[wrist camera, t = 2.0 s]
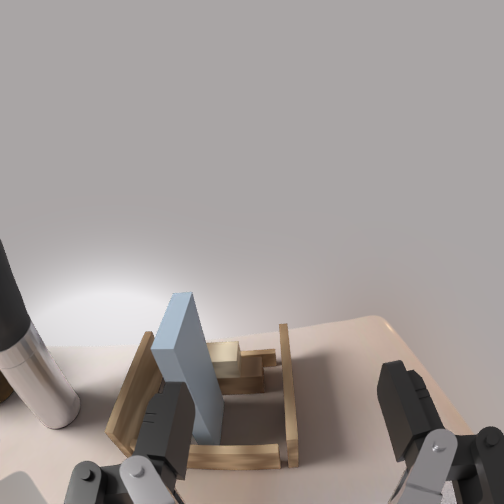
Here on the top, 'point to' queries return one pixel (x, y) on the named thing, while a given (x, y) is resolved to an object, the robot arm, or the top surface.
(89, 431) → the top surface
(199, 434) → the panel
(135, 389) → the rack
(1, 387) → the wooden container
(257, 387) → the offcut stack
